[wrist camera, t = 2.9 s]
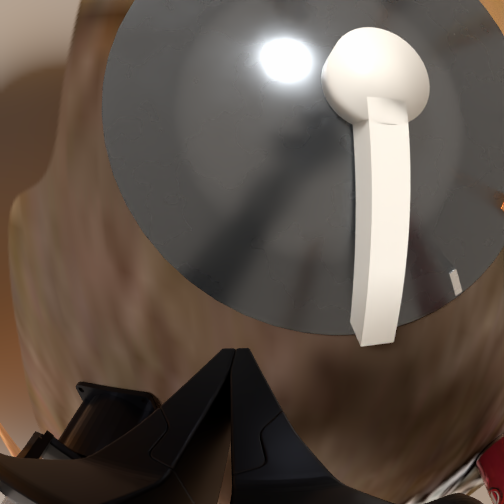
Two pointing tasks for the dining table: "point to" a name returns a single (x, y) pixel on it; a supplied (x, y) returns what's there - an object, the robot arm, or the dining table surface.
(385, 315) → the dial pointer
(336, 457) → the dining table surface
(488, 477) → the soda can
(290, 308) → the dial face
